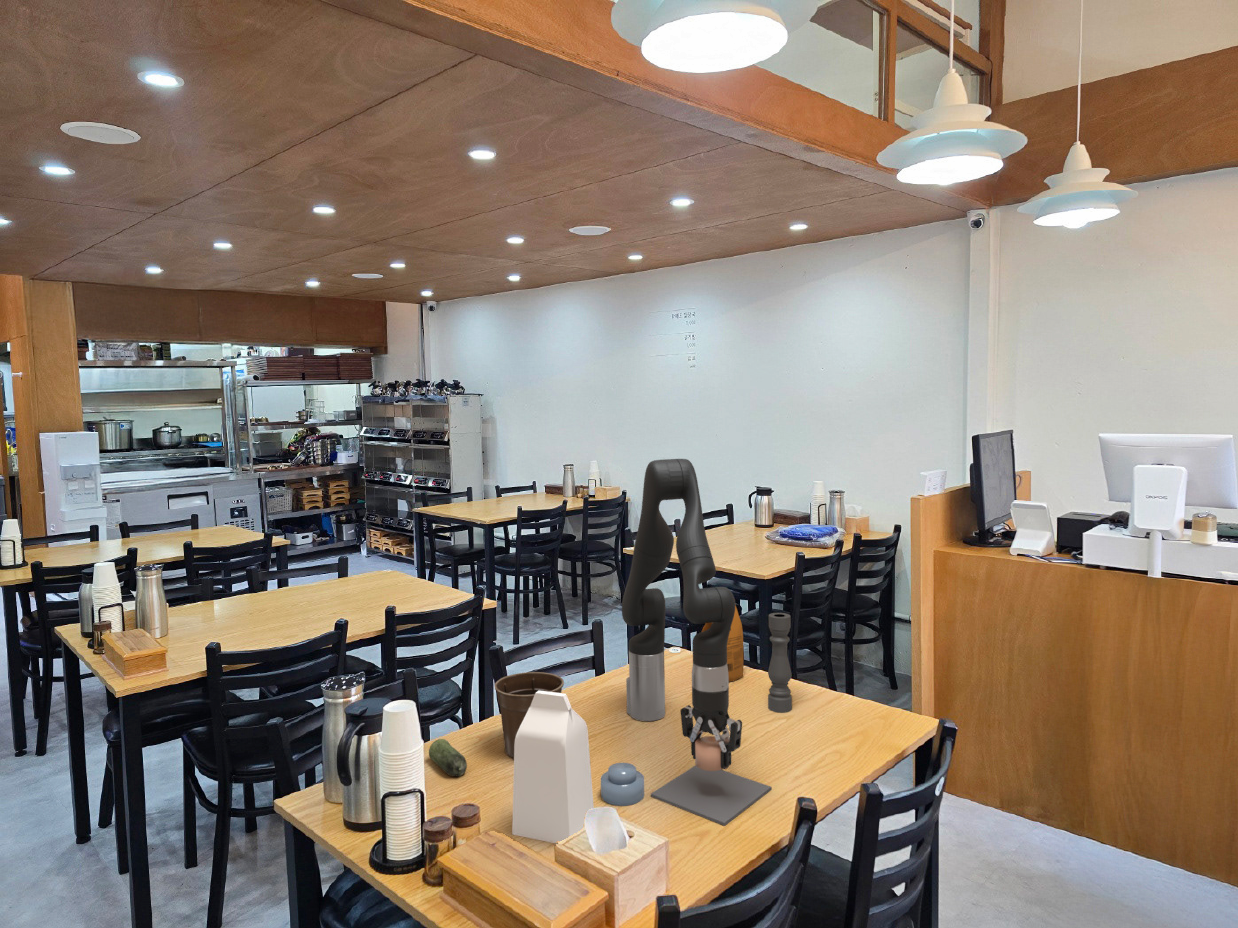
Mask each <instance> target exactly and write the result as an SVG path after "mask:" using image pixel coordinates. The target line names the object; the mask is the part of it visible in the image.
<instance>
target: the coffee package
mask: <svg viewBox="0 0 1238 928" xmlns="http://www.w3.org/2000/svg"><path fill="white" fill-rule="evenodd" d="M712 623H713V622H712ZM712 623H704V625H703V627H702V630H701V632H703V631H706V630H708V629H709V628H710V627H711V625H712ZM742 624H743V623H742V621H741V618H740V615H739V612H738V608H737V606H736V604H735V614H734V618H733V621H732V625H731V628H730V633H729V637H728V641H727V667H728V676H729V683H731V682H732V683H733V682H735V681H738V680H739V679H740V678H744V632H743V625H742Z"/></svg>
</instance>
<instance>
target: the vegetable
mask: <svg viewBox="0 0 1238 928" xmlns="http://www.w3.org/2000/svg"><path fill="white" fill-rule="evenodd" d="M428 757H429V758H430V760H431V761H432V762H434V763H435V764H436V765H437V766H439V767H440V769H442V771H444V772H445V773H446V774H448V776H451V777H461V776H462V775H463V774H465V772H466V771H467V768H468V764H467V760H466V758H465V756H464V755H463V754H462V753H460V752H459V751H458V750H457V749H456V748H454V747H453V746H452V745H451V743H450V742H449V741H448V740H447V739H445V738H439V739H435V740H434V741H433V742H432V743H431V745H430V746H429V748H428Z"/></svg>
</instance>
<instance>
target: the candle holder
mask: <svg viewBox="0 0 1238 928" xmlns="http://www.w3.org/2000/svg"><path fill="white" fill-rule="evenodd" d="M791 620H792V619H791V615H790V614H789V613H784V612H773V613H772V612H771V613H769V614H768V628H769V631H770V633H771V636H770V637H769V641H770V642H771V644H772V646H771V647H772V648H771V650H772V653H771V657H770V662H769V667H768V671H767V677H768V678H769V680H770V681H771V686H770V687H769V689H768V692H769V693H768V694H767V708H768V710H769V711H771V712H773V713H779V714H780V713H781V714H784V713H790V712H791V711H792V710H793V707H792V706H793V696H792V694H791V693H792V691H791V689H790V688H789V687H790V686H788V685H789V682H790V680H791V679H792V676H793V675H792V670H791V666H790V661H789V657H788V643H789V642H790V637H789V636H788V635H789V632H790V631H791V630H790V629H791V628H792V627H791V626H792V625H791V624H792V623H791Z"/></svg>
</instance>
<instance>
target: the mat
mask: <svg viewBox="0 0 1238 928" xmlns="http://www.w3.org/2000/svg"><path fill="white" fill-rule="evenodd" d="M771 791H772V786H770V785H767V784H765V783H762V782H758V781H755V780H753V779H750V778H747V777H744V776H742V775H738V774H736V773H733V772H731V771H726V770H725V769H722V770H718V771H707V770H703V769H700V768H698V767H697V766H696V764H695V765H694V766H692V767H691V768H688V769H687V770H686V771H683V772H682V773H681V774H680V775H678V776H676V777H675V778H673V779H672V780H670V781H668V782H666V783H665V784H664V785H662V786H661V787H659V788H657V789H655V790H654V791H653V792H651V793H650V797H651V798H652V799H656V800H659V801H661V802H663V803H666V804H668V805H670V806H673V807H676V808H678V809H681V810H682V811H685V812H689V813H690V814H694V815H695V816H699V817H701V818H703V819H706V820H709V821H711V822H713V823H716V824H719V825H720V826H721V825H722V826H723V827H724V826H727V825H728V824H729V823H731V822H732V821H733V820H734V819H736V818H737V817H738V816H740V814H742V813H743V812H744V811H746V810H747V809H748V808H750V807H751V806H753V805H754V804H756V802H758V801H759V800H761V798H762V797H764V796H766V795H767V794H768V793H769V792H771Z"/></svg>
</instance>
